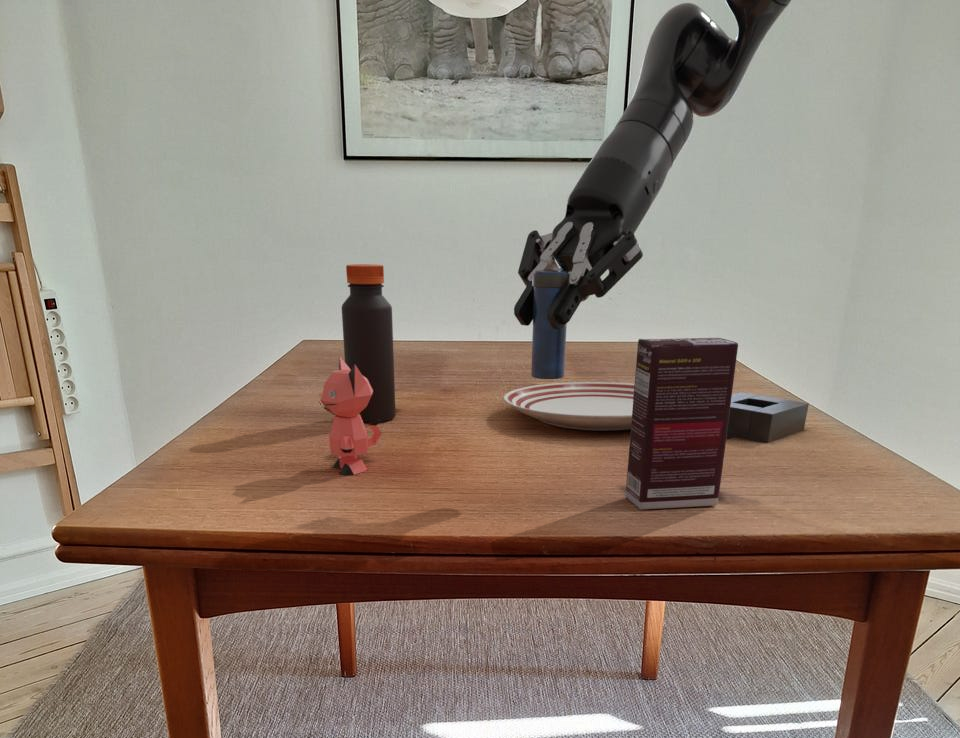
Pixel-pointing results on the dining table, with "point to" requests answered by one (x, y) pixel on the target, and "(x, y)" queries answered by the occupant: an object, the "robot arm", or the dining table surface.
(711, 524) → the dining table surface
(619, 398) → the dinner plate
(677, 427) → the supplement box
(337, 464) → the cat figurine
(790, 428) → the holder
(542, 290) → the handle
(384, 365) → the bottle
